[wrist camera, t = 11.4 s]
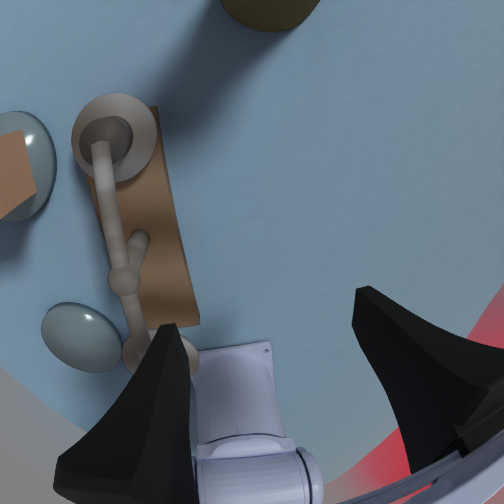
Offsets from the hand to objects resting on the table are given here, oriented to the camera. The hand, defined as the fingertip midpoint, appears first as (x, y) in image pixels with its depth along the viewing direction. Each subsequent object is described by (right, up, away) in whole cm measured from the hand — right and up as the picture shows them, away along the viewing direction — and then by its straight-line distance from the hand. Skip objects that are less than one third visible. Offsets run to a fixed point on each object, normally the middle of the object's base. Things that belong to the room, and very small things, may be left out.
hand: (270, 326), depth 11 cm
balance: (-8, +4, +8) cm, 12 cm away
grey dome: (-18, +9, +4) cm, 20 cm away
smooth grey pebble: (-16, -5, +12) cm, 21 cm away
